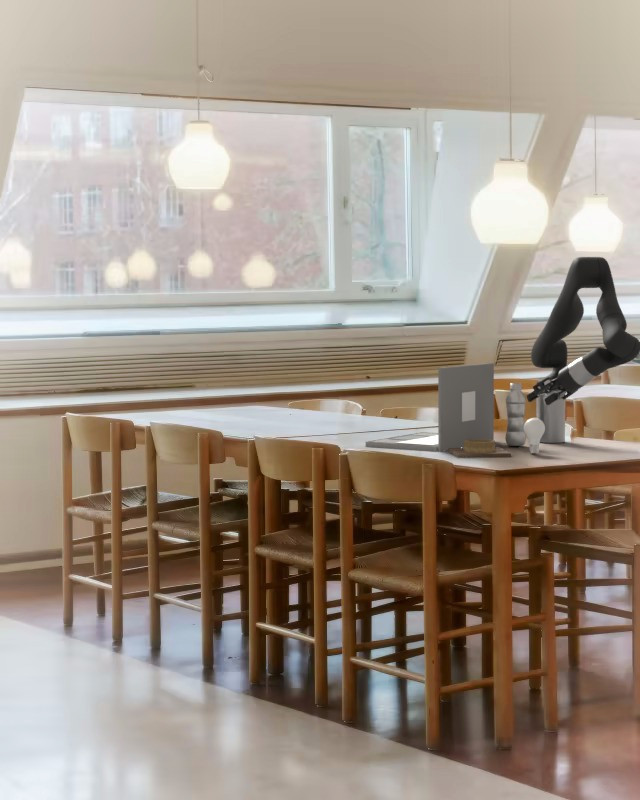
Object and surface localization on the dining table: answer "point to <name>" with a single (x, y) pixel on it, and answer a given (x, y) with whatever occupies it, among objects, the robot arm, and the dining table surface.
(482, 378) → the laptop
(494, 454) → the brown board with block
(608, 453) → the dining table surface
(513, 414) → the plastic bottle
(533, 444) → the lightbulb
